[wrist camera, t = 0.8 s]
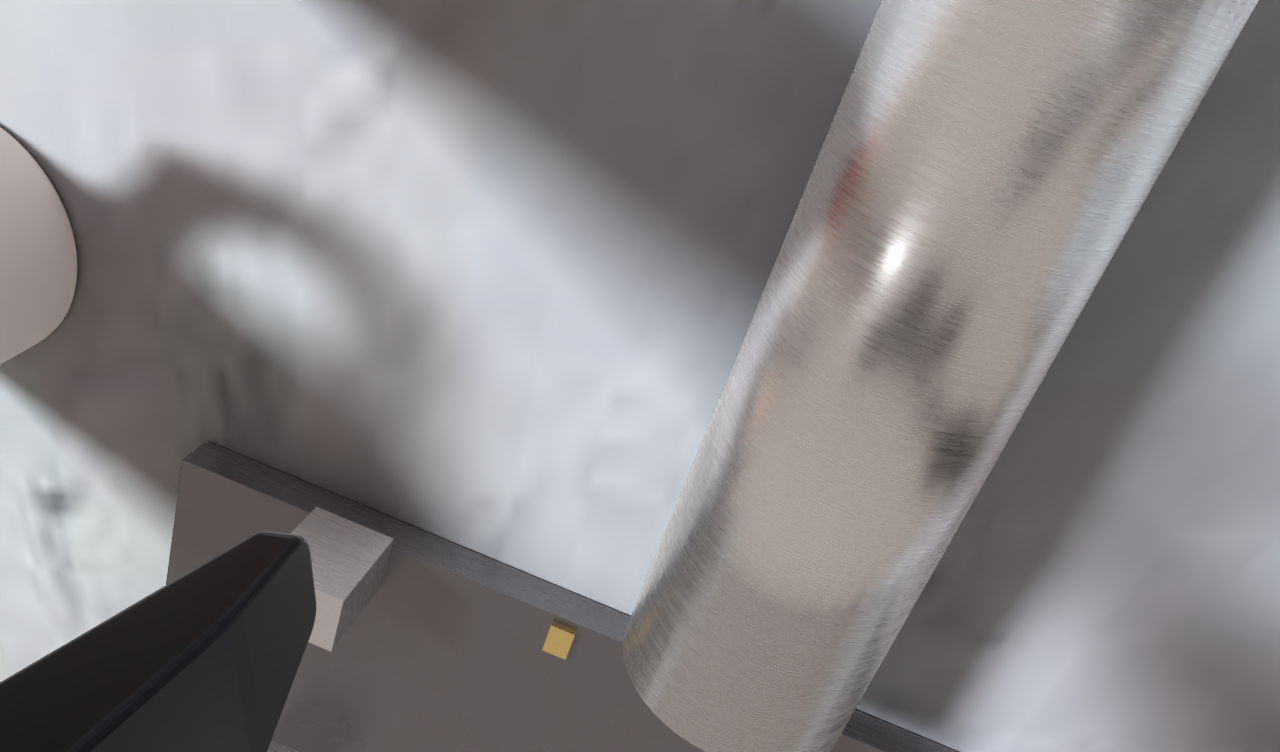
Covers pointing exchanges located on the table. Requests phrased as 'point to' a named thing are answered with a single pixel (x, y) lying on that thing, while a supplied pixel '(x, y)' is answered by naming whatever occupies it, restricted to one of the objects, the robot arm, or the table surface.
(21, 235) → the mug
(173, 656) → the robot arm
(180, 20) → the table surface
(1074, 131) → the tube
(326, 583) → the cradle
